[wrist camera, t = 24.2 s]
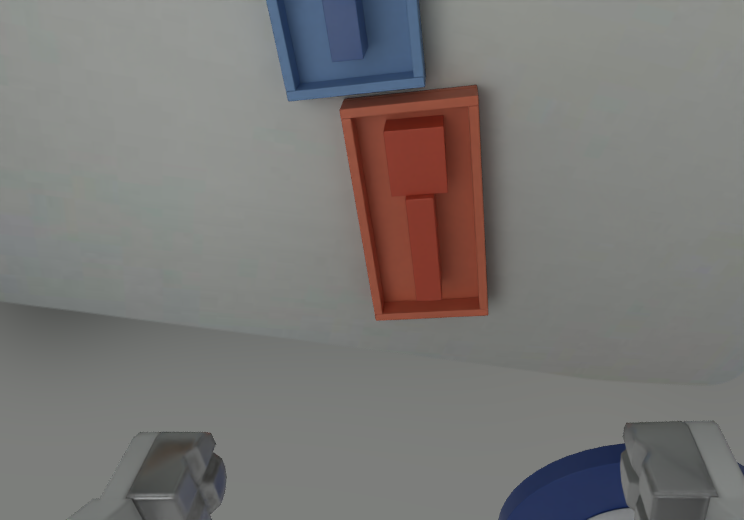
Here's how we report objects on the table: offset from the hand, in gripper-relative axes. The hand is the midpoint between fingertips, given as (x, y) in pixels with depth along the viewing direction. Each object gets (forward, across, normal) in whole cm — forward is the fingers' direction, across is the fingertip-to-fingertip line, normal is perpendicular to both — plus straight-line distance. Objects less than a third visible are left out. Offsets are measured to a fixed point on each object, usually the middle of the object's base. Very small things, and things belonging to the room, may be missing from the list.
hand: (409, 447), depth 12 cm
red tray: (+29, +2, +10) cm, 31 cm away
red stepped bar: (+28, +2, +10) cm, 30 cm away
